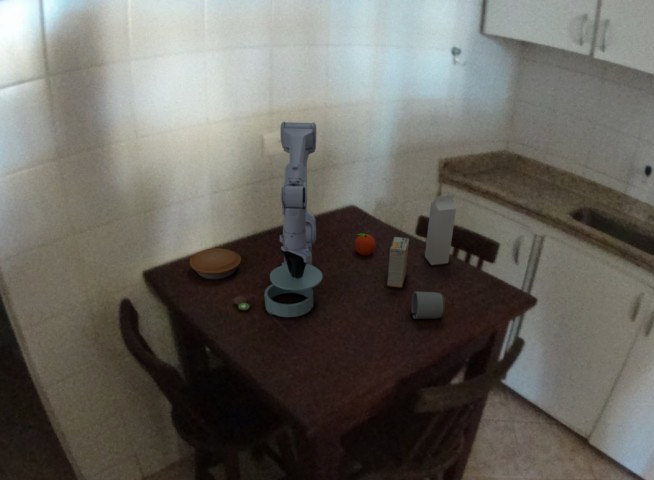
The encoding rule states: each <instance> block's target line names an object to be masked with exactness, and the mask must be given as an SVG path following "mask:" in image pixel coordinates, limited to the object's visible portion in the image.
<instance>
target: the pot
mask: <svg viewBox="0 0 654 480" xmlns="http://www.w3.org/2000/svg"><path fill="white" fill-rule="evenodd" d="M282 294H283V295H284V294H298V295H301V296H304V298H306V299H304V300H303V301H300V302H297V303H281V302H278V301H274V300H273V298H274V297H276V296H279V295H282ZM264 307H265V310H266V311H267V313H269V314H270V315H272V316H273V315H275V316H278V317H283V318H295V317H300V316H303V315H305V314H308V313H309V312H310V311H311V310H312V309H313V307H314V290H313V288H310V289H306V290H299V291H293V290H285V289H282V288H279V287H277V286H275V285H274V284H273V283H272V284H270V285H268V286H267V287H266V289H265V290H264Z"/></svg>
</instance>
